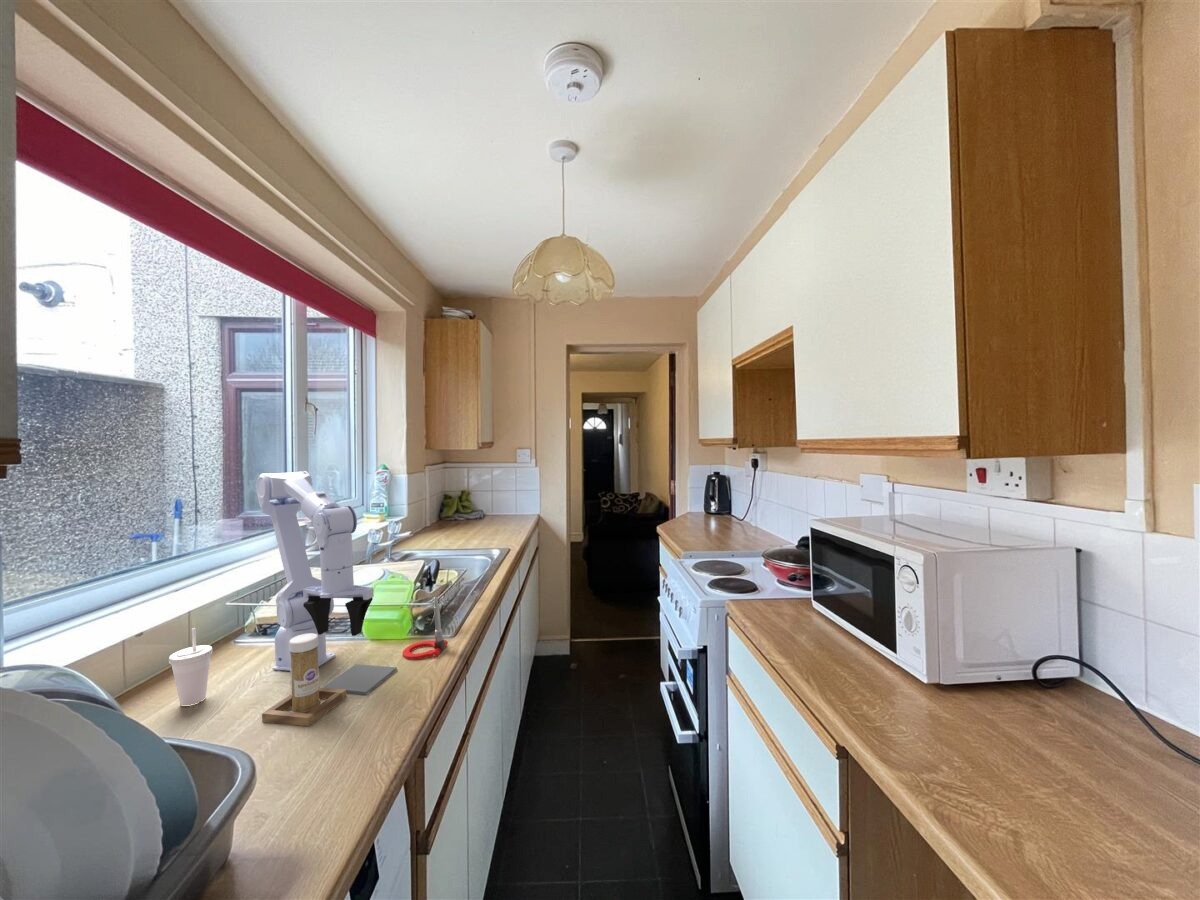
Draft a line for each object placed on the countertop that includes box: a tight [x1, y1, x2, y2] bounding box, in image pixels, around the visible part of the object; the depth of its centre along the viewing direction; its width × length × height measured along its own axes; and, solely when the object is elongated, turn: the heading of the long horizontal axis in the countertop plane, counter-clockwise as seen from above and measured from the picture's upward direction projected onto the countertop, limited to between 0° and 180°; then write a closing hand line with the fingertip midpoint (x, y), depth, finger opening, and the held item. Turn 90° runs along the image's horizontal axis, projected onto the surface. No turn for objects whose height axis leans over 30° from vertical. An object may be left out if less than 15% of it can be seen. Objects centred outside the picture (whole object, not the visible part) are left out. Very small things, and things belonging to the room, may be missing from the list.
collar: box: [261, 686, 348, 727], centre depth 88 cm, size 9×9×2 cm
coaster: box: [322, 663, 398, 696], centre depth 98 cm, size 10×10×1 cm
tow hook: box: [401, 596, 449, 660], centre depth 111 cm, size 8×13×9 cm
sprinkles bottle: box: [289, 633, 321, 713], centre depth 88 cm, size 5×5×14 cm
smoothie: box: [168, 627, 213, 705], centre depth 91 cm, size 6×6×14 cm
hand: (339, 633), depth 96 cm, fingers open, 7 cm apart
